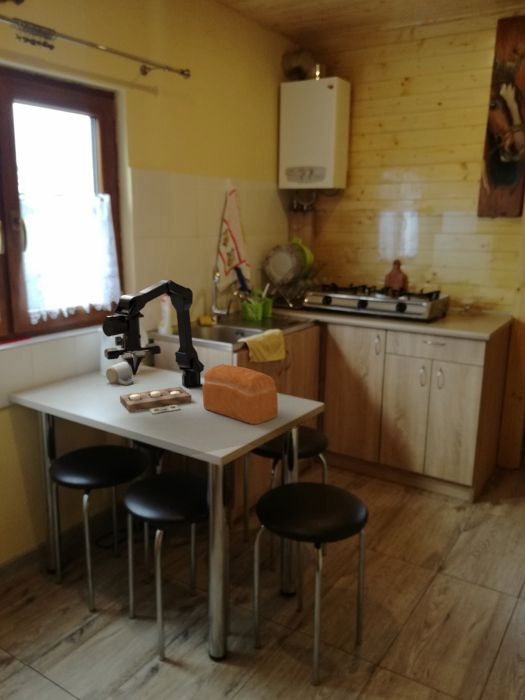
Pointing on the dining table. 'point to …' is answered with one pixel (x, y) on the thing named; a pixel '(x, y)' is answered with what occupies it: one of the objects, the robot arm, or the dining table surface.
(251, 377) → the bread
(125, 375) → the ceramic mug
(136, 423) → the dining table surface
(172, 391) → the white egg
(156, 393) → the off-white egg
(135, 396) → the cream egg
